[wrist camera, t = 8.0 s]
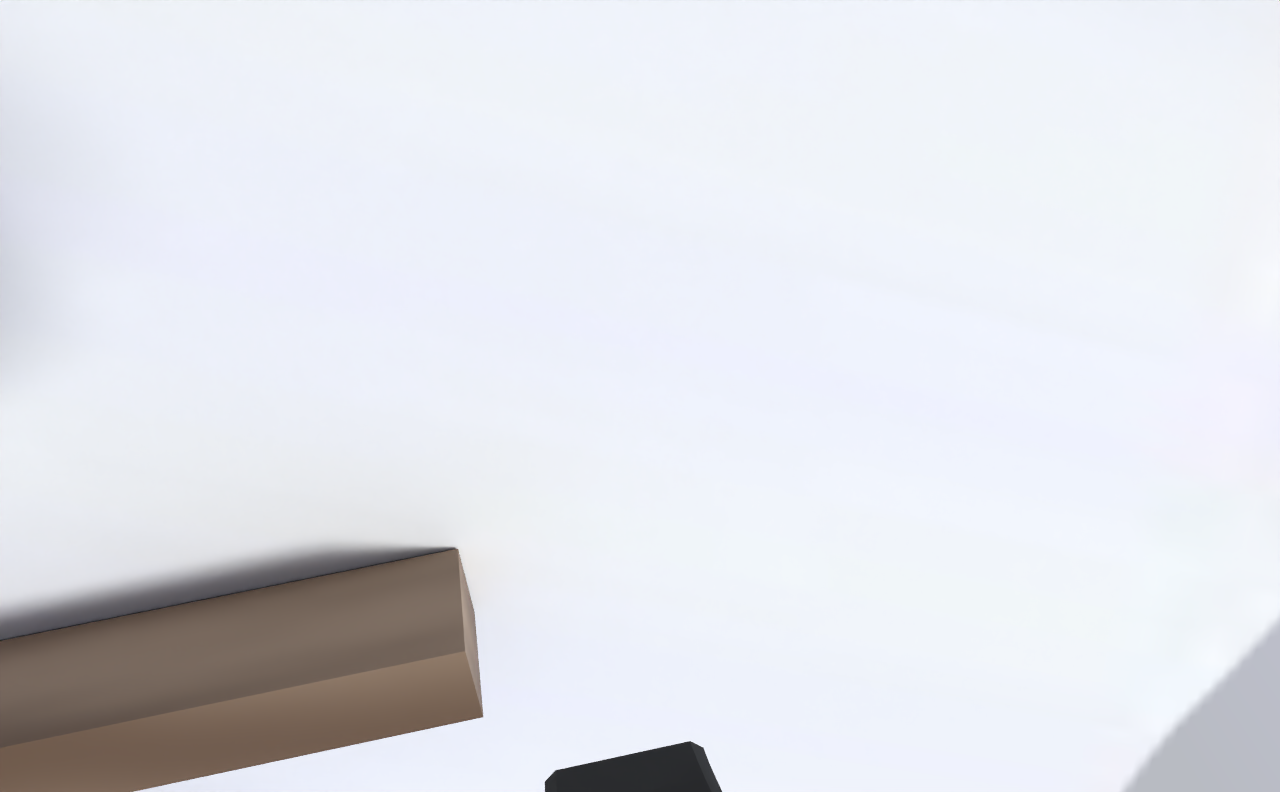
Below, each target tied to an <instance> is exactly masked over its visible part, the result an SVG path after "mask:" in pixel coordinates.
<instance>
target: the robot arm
mask: <svg viewBox="0 0 1280 792" xmlns="http://www.w3.org/2000/svg"><path fill="white" fill-rule="evenodd" d="M545 792H722V791H721V788H720V786H719V784H718V782H717V780H716V778H715V775H714V773H713V771H712V769H711V766H710V764H709V762H708V759H707V756H706V754H705V751H704V748H703V747H701V746H699V745H697V744H695V743H693V742H691V741H689V742H684V743H680V744H675V745H671V746H666V747H661V748H657V749H652V750H648V751H643V752H638V753H634V754H629V755H625V756H620V757H615V758H611V759H606V760H602V761H597V762H592V763H588V764H583V765H579V766H574V767H569V768H565V769H560V770H556V771H555V772H554V773H553V774H552V775H551V776H550V777H549V778H548V779H547V780H546V781H545Z"/></svg>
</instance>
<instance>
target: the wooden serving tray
mask: <svg viewBox="0 0 1280 792" xmlns="http://www.w3.org/2000/svg"><path fill="white" fill-rule="evenodd" d="M481 717H483V709H482V697H481V685H480V673H479V661H478V650H477V638H476V626H475V614H474V609H473V605H472V601H471V598H470V594H469V590H468V586H467V582H466V578H465V575H464V571H463V567H462V563H461V559H460V555H459V551H458V549H454V550H449V551H444V552H439V553H434V554H429V555H424V556H419V557H414V558H409V559H404V560H399V561H394V562H390V563H385V564H380V565H375V566H370V567H365V568H360V569H355V570H350V571H345V572H340V573H335V574H330V575H325V576H320V577H315V578H310V579H305V580H300V581H295V582H290V583H285V584H280V585H275V586H270V587H265V588H260V589H255V590H250V591H245V592H240V593H236V594H231V595H226V596H221V597H216V598H211V599H206V600H201V601H196V602H191V603H186V604H181V605H176V606H171V607H166V608H161V609H156V610H151V611H146V612H141V613H136V614H131V615H126V616H121V617H116V618H111V619H106V620H101V621H96V622H91V623H86V624H82V625H77V626H72V627H67V628H62V629H57V630H52V631H47V632H42V633H37V634H32V635H27V636H22V637H17V638H12V639H7V640H2V641H0V792H134V791H138V790H143V789H148V788H152V787H157V786H162V785H166V784H171V783H176V782H180V781H185V780H190V779H195V778H199V777H204V776H209V775H213V774H218V773H223V772H227V771H232V770H237V769H242V768H246V767H251V766H256V765H260V764H265V763H270V762H274V761H279V760H284V759H288V758H293V757H298V756H303V755H307V754H312V753H317V752H321V751H326V750H331V749H335V748H340V747H345V746H350V745H354V744H359V743H364V742H368V741H373V740H378V739H382V738H387V737H392V736H396V735H401V734H406V733H411V732H415V731H420V730H425V729H429V728H434V727H439V726H443V725H448V724H453V723H458V722H462V721H467V720H472V719H476V718H481Z"/></svg>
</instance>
